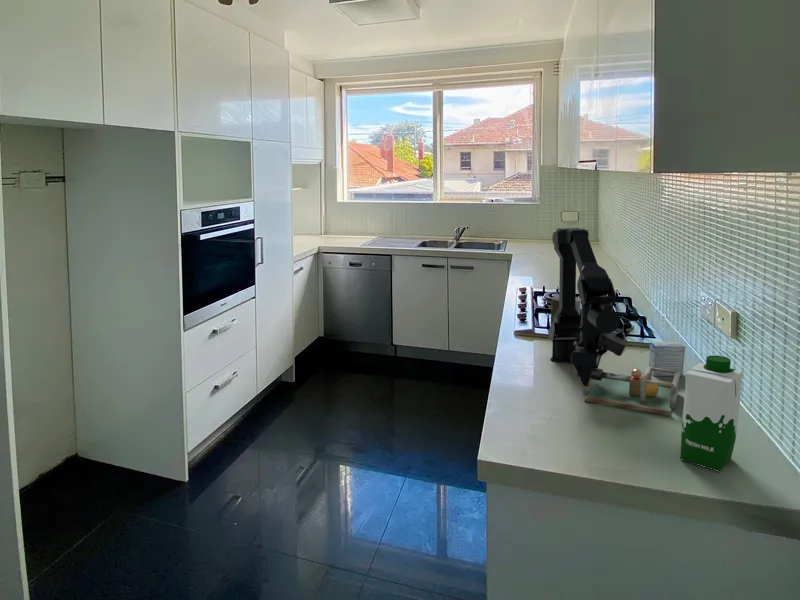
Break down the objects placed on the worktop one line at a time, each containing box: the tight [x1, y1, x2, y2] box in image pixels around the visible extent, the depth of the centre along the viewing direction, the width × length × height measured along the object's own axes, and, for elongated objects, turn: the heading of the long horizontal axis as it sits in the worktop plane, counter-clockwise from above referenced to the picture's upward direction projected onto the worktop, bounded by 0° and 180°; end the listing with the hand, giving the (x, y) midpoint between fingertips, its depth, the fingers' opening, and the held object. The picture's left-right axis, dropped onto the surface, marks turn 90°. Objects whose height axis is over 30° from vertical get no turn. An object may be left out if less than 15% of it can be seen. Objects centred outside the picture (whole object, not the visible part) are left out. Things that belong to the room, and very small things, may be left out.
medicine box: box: [648, 341, 686, 377], centre depth 153 cm, size 8×4×9 cm, turn 84°
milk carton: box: [679, 355, 744, 472], centre depth 105 cm, size 9×9×20 cm
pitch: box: [584, 366, 681, 417], centre depth 139 cm, size 20×20×6 cm
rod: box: [576, 367, 643, 396], centre depth 142 cm, size 15×4×6 cm, turn 59°
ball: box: [646, 383, 659, 397], centre depth 137 cm, size 4×4×4 cm
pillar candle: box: [550, 295, 582, 325], centre depth 189 cm, size 10×10×15 cm
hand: (589, 380), depth 144 cm, fingers open, 9 cm apart
